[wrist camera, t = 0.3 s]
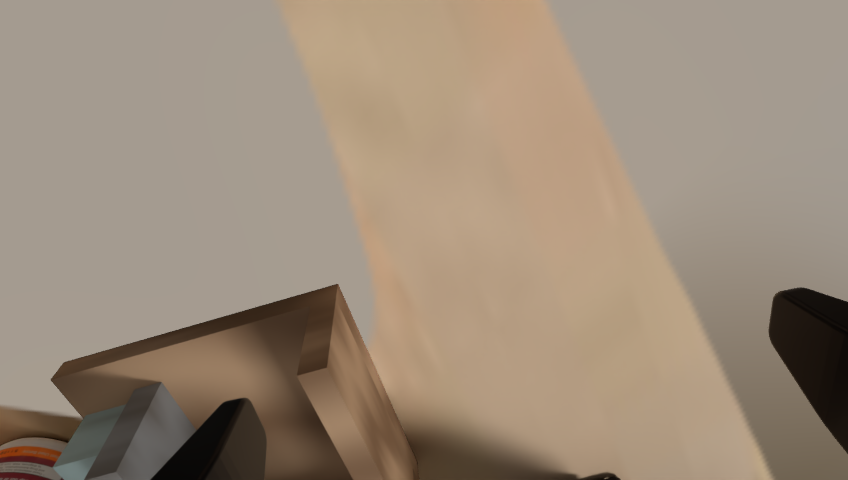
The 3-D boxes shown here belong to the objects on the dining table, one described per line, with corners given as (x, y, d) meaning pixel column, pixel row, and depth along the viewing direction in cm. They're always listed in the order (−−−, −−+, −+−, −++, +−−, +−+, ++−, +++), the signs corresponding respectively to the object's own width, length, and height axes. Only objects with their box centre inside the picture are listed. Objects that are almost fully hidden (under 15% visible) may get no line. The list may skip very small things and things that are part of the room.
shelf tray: (417, 463, 31) (425, 571, 26) (193, 520, 32) (155, 637, 27) (337, 283, 25) (325, 376, 20) (63, 362, 26) (-21, 471, 21)
